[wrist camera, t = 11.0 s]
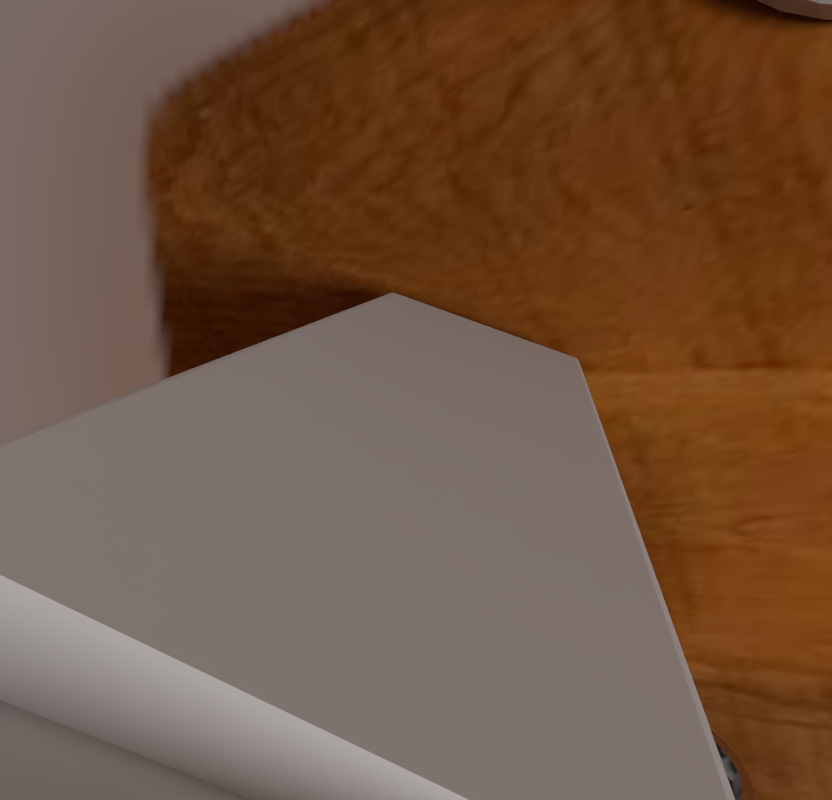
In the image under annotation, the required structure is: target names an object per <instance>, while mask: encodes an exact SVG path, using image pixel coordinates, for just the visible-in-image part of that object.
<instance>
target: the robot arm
mask: <svg viewBox="0 0 832 800" xmlns="http://www.w3.org/2000/svg"><path fill="white" fill-rule="evenodd" d="M757 1H759V2H761V3H764V4H766V5H768V6H770V7H772V8H775V9H777V10H779V11H782V12H787V13H793V14H798V15H803V16H809V17H814V18H819V19H824V20H832V0H757ZM710 730H711V729H710ZM711 732H712V735H713V738H714V741H715V744H716V746H717V749H718V752H719V755H720V758H721V760H722V763H723V766H724V769H725V772H726V775H727V777H728V780H729V783H730V786H731V789H732V792H733V794H734V797H735V800H755V792H754V789H753V786H752V783H751V780H750V777H749V774H748V773H747V771H746V769H745V768H744V766H743V764H742V763H741V761H740V760H739V758H738V757H737V755H736V754H735V753H734V752H733V751H732V750H731V748H730V747H729V746H728V745H727V744H726V743H725V742H724V741H723V740H722V739H721V738H720V737H719V736H718V735H716V734H715V733H714V732H713V731H712V730H711ZM0 800H251V799H249V798H247V797H244V796H242V795H239V794H237V793H234V792H232V791H229V790H227V789H224V788H222V787H220V786H217V785H215V784H212V783H210V782H207V781H205V780H202V779H200V778H197V777H195V776H192V775H190V774H187V773H185V772H182V771H180V770H177V769H175V768H172V767H170V766H167V765H164V764H162V763H159V762H157V761H154V760H152V759H149V758H147V757H144V756H142V755H139V754H137V753H134V752H132V751H129V750H127V749H124V748H121V747H119V746H116V745H114V744H111V743H109V742H106V741H103V740H101V739H98V738H96V737H93V736H91V735H88V734H86V733H83V732H80V731H78V730H75V729H73V728H70V727H68V726H65V725H62V724H60V723H57V722H55V721H52V720H50V719H47V718H45V717H42V716H39V715H37V714H34V713H32V712H29V711H27V710H24V709H22V708H19V707H17V706H14V705H11V704H9V703H6V702H4V701H1V700H0Z"/></svg>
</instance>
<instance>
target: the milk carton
mask: <svg viewBox="0 0 832 800" xmlns="http://www.w3.org/2000/svg"><path fill="white" fill-rule="evenodd" d="M0 700H1V701H4V702H6V703H9V704H11V705H14V706H17V707H19V708H22V709H24V710H27V711H29V712H32V713H34V714H37V715H39V716H42V717H45V718H47V719H50V720H52V721H55V722H57V723H60V724H62V725H65V726H68V727H70V728H73V729H75V730H78V731H80V732H83V733H86V734H88V735H91V736H93V737H96V738H98V739H101V740H103V741H106V742H109V743H111V744H114V745H116V746H119V747H121V748H124V749H127V750H129V751H132V752H134V753H137V754H139V755H142V756H144V757H147V758H149V759H152V760H154V761H157V762H159V763H162V764H164V765H167V766H170V767H172V768H175V769H177V770H180V771H182V772H185V773H187V774H190V775H192V776H195V777H197V778H200V779H202V780H205V781H207V782H210V783H212V784H215V785H217V786H220V787H222V788H224V789H227V790H229V791H232V792H234V793H237V794H239V795H242V796H244V797H247V798H249V799H251V800H735V797H734V794H733V792H732V789H731V786H730V783H729V780H728V777H727V775H726V772H725V769H724V766H723V763H722V760H721V758H720V755H719V752H718V749H717V746H716V744H715V741H714V738H713V735H712V732H711V730H710V727H709V724H708V721H707V718H706V715H705V713H704V710H703V707H702V704H701V701H700V699H699V696H698V693H697V690H696V688H695V685H694V682H693V679H692V676H691V674H690V671H689V668H688V665H687V662H686V660H685V657H684V654H683V651H682V648H681V646H680V643H679V640H678V637H677V634H676V632H675V629H674V626H673V623H672V620H671V618H670V615H669V612H668V609H667V606H666V604H665V601H664V598H663V595H662V593H661V590H660V587H659V584H658V581H657V579H656V576H655V573H654V570H653V567H652V565H651V562H650V559H649V556H648V553H647V551H646V548H645V545H644V542H643V539H642V537H641V534H640V531H639V528H638V525H637V523H636V520H635V517H634V514H633V511H632V509H631V506H630V503H629V500H628V498H627V495H626V492H625V489H624V486H623V484H622V481H621V478H620V475H619V472H618V470H617V467H616V464H615V461H614V458H613V456H612V453H611V450H610V447H609V444H608V442H607V439H606V436H605V433H604V430H603V428H602V425H601V422H600V419H599V416H598V414H597V411H596V408H595V405H594V403H593V400H592V397H591V394H590V391H589V389H588V386H587V383H586V380H585V377H584V375H583V372H582V369H581V366H580V363H579V361H578V359H577V358H575V357H572V356H569V355H566V354H564V353H561V352H558V351H555V350H552V349H550V348H547V347H544V346H541V345H538V344H536V343H533V342H530V341H527V340H525V339H522V338H519V337H516V336H513V335H511V334H508V333H505V332H502V331H499V330H497V329H494V328H491V327H488V326H486V325H483V324H480V323H477V322H474V321H472V320H469V319H466V318H463V317H461V316H458V315H455V314H452V313H449V312H447V311H444V310H441V309H438V308H435V307H433V306H430V305H427V304H424V303H422V302H419V301H416V300H413V299H410V298H408V297H405V296H402V295H399V294H396V293H389V294H386V295H384V296H381V297H378V298H376V299H373V300H371V301H368V302H365V303H363V304H360V305H357V306H355V307H352V308H350V309H347V310H344V311H342V312H339V313H337V314H334V315H331V316H329V317H326V318H323V319H321V320H318V321H316V322H313V323H310V324H308V325H305V326H302V327H300V328H297V329H295V330H292V331H289V332H287V333H284V334H281V335H279V336H276V337H274V338H271V339H268V340H266V341H263V342H260V343H258V344H255V345H253V346H250V347H247V348H245V349H242V350H239V351H237V352H234V353H232V354H229V355H226V356H224V357H221V358H218V359H216V360H213V361H211V362H208V363H205V364H203V365H200V366H198V367H195V368H192V369H190V370H187V371H184V372H182V373H179V374H177V375H174V376H171V377H169V378H166V379H163V380H161V381H158V382H156V383H153V384H150V385H148V386H145V387H143V388H140V389H137V390H135V391H132V392H129V393H127V394H124V395H122V396H119V397H116V398H114V399H111V400H108V401H106V402H103V403H100V404H98V405H96V406H93V407H90V408H87V409H85V410H82V411H79V412H77V413H74V414H72V415H69V416H66V417H64V418H61V419H59V420H56V421H53V422H51V423H48V424H45V425H43V426H40V427H38V428H35V429H32V430H30V431H27V432H25V433H22V434H19V435H17V436H14V437H11V438H9V439H6V440H3V441H1V442H0Z"/></svg>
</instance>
